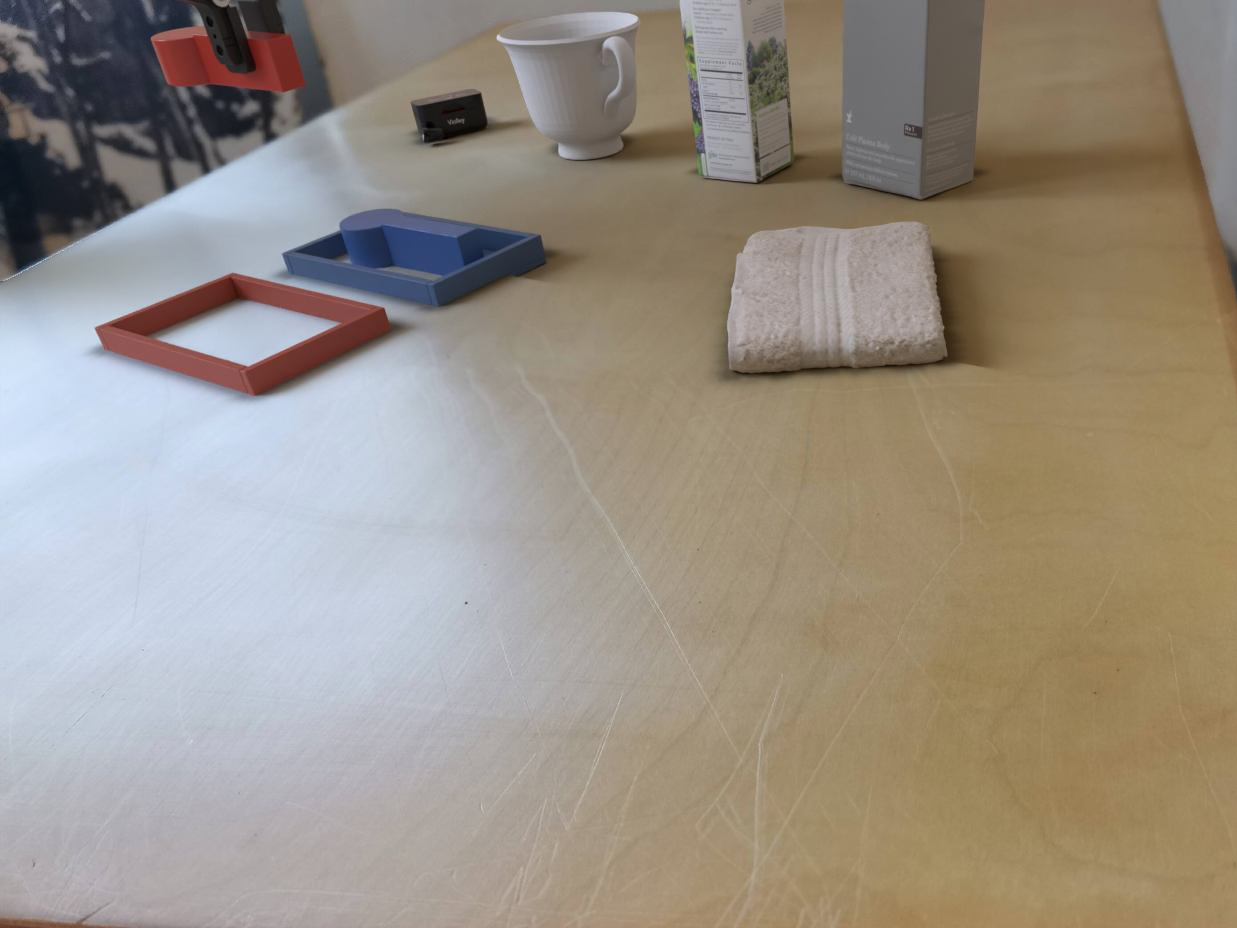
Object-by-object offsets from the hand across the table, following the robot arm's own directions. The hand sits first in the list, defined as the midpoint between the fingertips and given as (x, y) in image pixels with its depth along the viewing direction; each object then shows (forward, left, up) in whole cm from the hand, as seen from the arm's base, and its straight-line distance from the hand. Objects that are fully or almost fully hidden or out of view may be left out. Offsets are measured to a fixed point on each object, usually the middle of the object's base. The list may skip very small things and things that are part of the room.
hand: (257, 66), depth 72 cm
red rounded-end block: (-3, 0, -1) cm, 3 cm away
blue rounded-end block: (+7, +2, -13) cm, 15 cm away
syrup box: (+16, +29, -13) cm, 36 cm away
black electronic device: (-19, +29, -13) cm, 37 cm away
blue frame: (+7, +2, -13) cm, 15 cm away
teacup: (0, +29, -13) cm, 32 cm away
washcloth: (+38, +7, -13) cm, 41 cm away
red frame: (+7, -11, -13) cm, 19 cm away
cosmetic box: (+30, +31, -13) cm, 45 cm away
